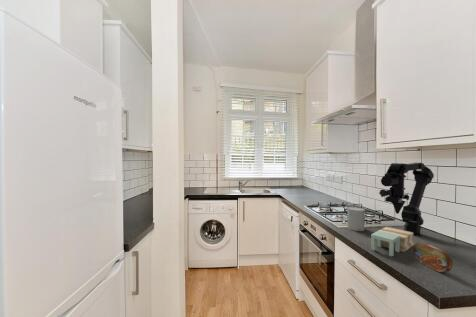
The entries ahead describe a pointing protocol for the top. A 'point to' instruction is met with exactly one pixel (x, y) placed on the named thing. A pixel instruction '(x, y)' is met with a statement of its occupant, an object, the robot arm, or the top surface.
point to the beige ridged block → (405, 238)
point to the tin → (432, 257)
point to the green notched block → (388, 238)
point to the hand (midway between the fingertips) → (397, 213)
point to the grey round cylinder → (356, 218)
